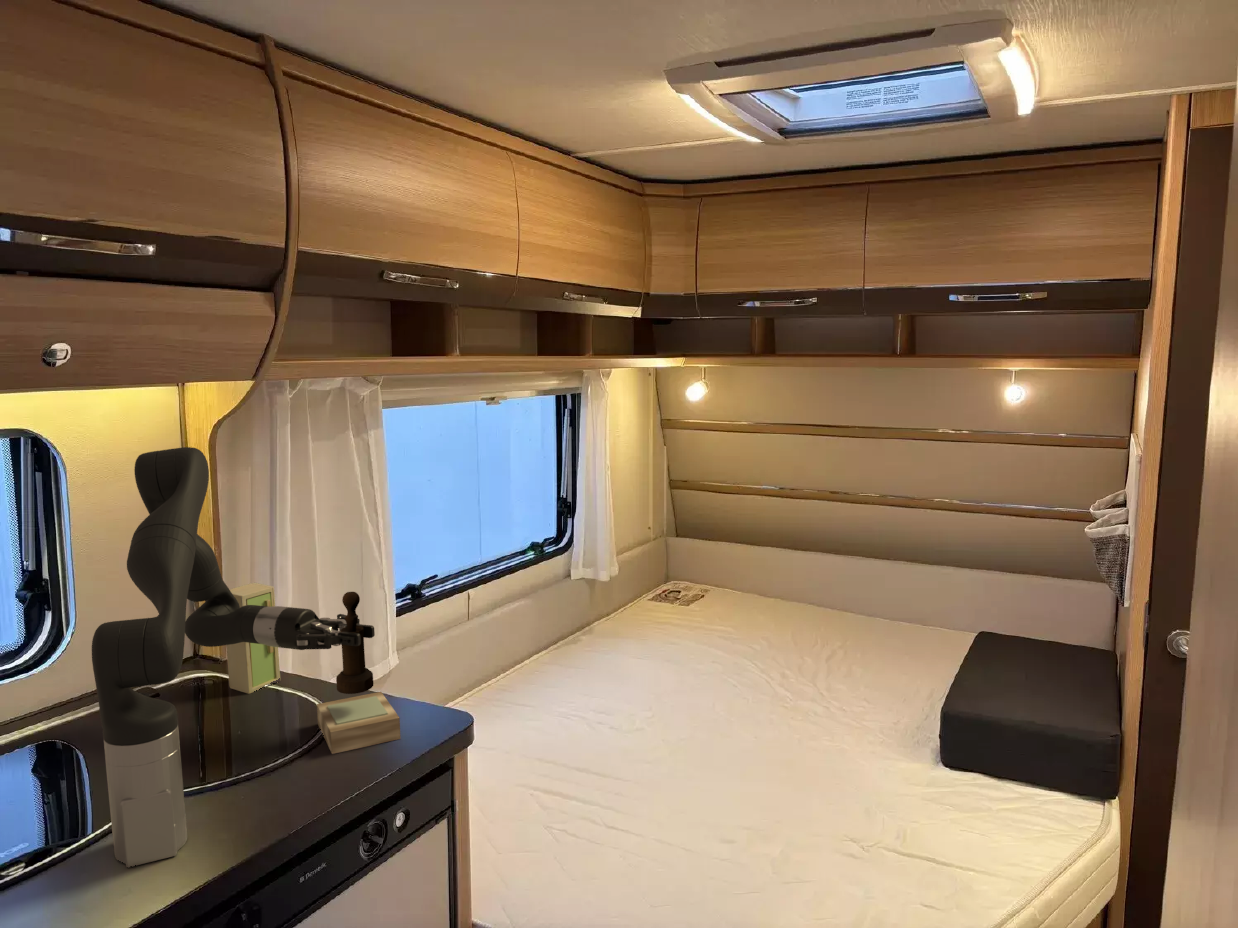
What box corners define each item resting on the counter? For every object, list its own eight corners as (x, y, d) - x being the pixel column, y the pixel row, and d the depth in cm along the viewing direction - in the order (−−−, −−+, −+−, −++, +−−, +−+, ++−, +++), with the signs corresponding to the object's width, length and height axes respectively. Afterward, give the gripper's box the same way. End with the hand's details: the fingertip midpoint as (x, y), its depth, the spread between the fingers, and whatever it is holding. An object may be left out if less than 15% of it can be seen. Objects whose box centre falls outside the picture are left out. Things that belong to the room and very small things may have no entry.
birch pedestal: (400, 738, 159) (399, 716, 158) (332, 753, 153) (330, 730, 153) (382, 711, 171) (381, 690, 170) (317, 724, 165) (316, 702, 165)
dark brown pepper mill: (329, 687, 161) (325, 592, 159) (362, 677, 166) (357, 584, 163) (347, 697, 157) (343, 599, 154) (380, 687, 161) (376, 592, 159)
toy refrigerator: (250, 695, 180) (243, 595, 177) (228, 688, 184) (220, 590, 181) (283, 682, 187) (277, 586, 184) (261, 676, 190) (254, 581, 188)
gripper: (259, 619, 156) (342, 628, 152) (308, 597, 170) (386, 604, 165) (261, 659, 158) (344, 669, 153) (310, 634, 171) (388, 642, 166)
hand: (366, 635), depth 159 cm, fingers closed on dark brown pepper mill, 4 cm apart
